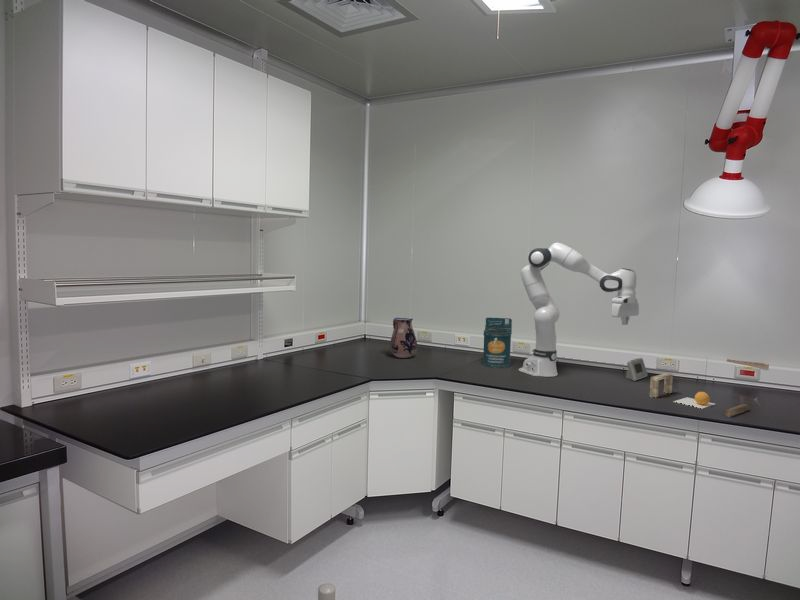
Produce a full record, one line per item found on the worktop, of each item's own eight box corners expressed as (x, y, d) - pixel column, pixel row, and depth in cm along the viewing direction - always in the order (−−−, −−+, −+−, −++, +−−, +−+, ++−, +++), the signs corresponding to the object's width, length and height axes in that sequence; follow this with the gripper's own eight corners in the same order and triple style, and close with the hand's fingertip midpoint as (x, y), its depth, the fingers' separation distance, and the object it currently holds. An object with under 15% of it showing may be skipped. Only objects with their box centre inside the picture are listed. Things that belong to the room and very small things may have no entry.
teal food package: (510, 363, 328) (512, 318, 326) (509, 368, 313) (510, 321, 310) (484, 361, 332) (485, 317, 330) (481, 366, 317) (483, 320, 314)
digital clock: (634, 382, 285) (635, 362, 284) (619, 378, 292) (620, 359, 291) (652, 378, 293) (653, 359, 292) (638, 375, 301) (639, 356, 300)
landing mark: (673, 401, 248) (673, 401, 248) (687, 397, 255) (687, 397, 255) (701, 408, 237) (701, 408, 237) (715, 404, 245) (715, 403, 245)
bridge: (649, 396, 256) (650, 377, 255) (665, 392, 265) (667, 373, 264) (655, 398, 254) (656, 378, 253) (671, 393, 262) (673, 374, 261)
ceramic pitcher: (402, 360, 330) (402, 321, 328) (381, 355, 346) (381, 317, 344) (422, 357, 342) (423, 319, 339) (401, 352, 358) (401, 315, 355)
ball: (694, 406, 244) (690, 393, 245) (700, 404, 247) (696, 391, 248) (707, 405, 239) (703, 391, 240) (713, 402, 242) (709, 389, 244)
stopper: (724, 416, 227) (724, 410, 227) (742, 409, 238) (743, 403, 237) (729, 417, 226) (729, 411, 225) (747, 410, 236) (748, 404, 236)
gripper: (631, 297, 289) (630, 322, 291) (609, 299, 277) (608, 325, 279) (642, 298, 284) (641, 324, 285) (620, 300, 272) (619, 326, 274)
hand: (624, 324), depth 282 cm, fingers closed
